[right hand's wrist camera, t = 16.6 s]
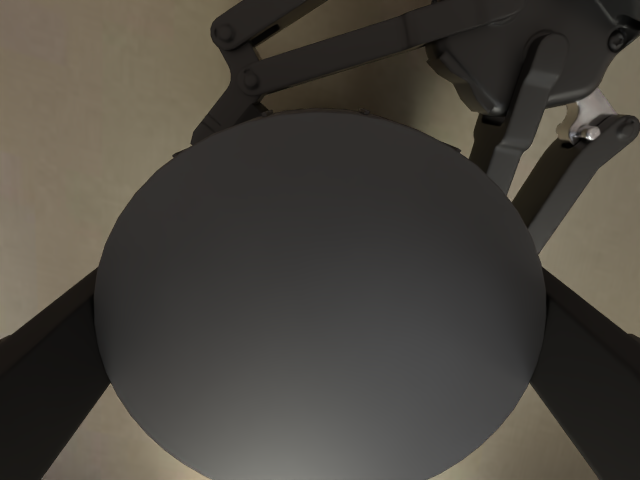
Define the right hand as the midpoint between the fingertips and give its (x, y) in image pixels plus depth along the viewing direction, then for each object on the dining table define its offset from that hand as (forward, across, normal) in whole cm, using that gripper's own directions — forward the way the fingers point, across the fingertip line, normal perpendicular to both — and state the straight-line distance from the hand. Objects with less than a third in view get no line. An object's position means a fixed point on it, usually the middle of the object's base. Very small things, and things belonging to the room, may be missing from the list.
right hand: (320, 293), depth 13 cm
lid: (-2, 0, 0) cm, 2 cm away
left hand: (+7, -3, -3) cm, 8 cm away
